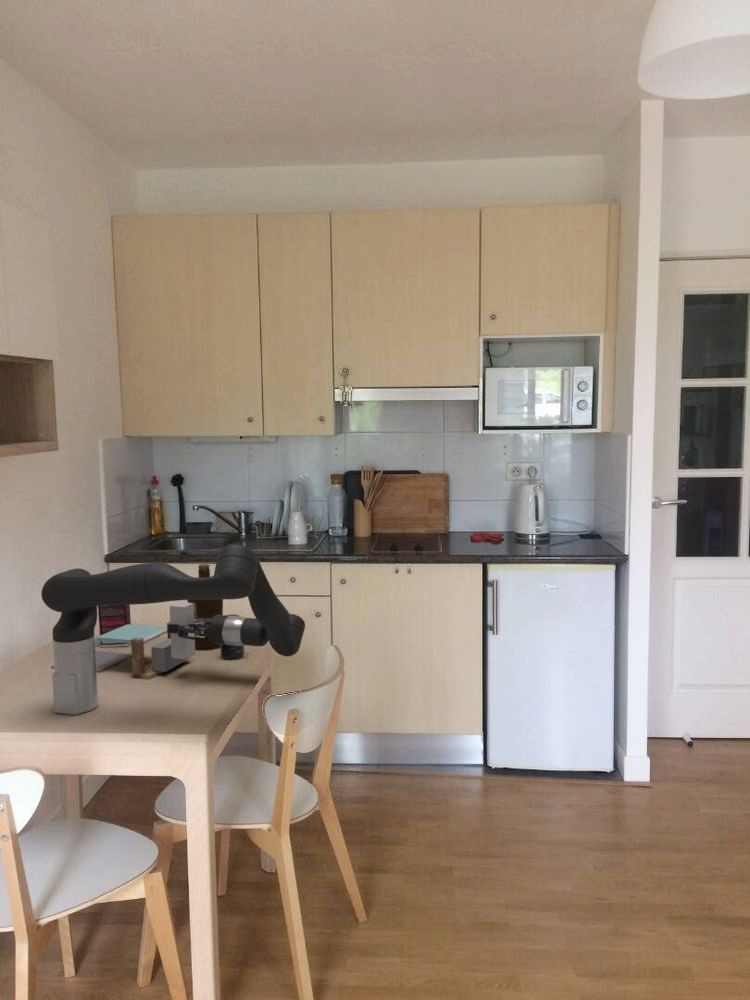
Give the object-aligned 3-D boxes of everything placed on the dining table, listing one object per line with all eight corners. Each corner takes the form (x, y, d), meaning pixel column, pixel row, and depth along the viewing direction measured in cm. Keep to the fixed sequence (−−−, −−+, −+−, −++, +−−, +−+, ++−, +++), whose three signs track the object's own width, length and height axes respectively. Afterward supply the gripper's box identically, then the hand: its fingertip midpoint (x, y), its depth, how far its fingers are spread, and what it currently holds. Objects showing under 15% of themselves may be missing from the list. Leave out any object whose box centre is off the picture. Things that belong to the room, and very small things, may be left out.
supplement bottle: (216, 656, 224) (214, 616, 222) (237, 651, 228) (235, 612, 227) (228, 661, 218) (226, 620, 217) (249, 656, 223) (247, 616, 222)
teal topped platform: (191, 657, 219) (190, 628, 218) (164, 672, 206) (162, 642, 205) (128, 651, 226) (127, 624, 225) (97, 666, 212) (96, 636, 211)
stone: (186, 659, 203) (184, 607, 202) (171, 657, 205) (169, 606, 203) (195, 654, 207) (193, 603, 206) (180, 653, 209) (178, 602, 207)
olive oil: (219, 639, 242) (216, 560, 239) (229, 647, 233) (226, 565, 230) (185, 644, 237) (181, 564, 234) (194, 653, 228) (190, 569, 225)
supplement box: (132, 642, 240) (129, 592, 239) (128, 646, 235) (125, 595, 234) (104, 643, 240) (101, 593, 238) (99, 647, 235) (96, 596, 233)
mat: (99, 672, 211) (99, 671, 211) (51, 667, 216) (51, 666, 216) (134, 655, 226) (134, 654, 226) (88, 651, 231) (88, 650, 231)
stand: (188, 658, 223) (186, 622, 222) (149, 679, 204) (148, 640, 203) (170, 656, 224) (168, 621, 223) (130, 677, 206) (128, 639, 205)
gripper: (242, 609, 207) (186, 606, 212) (216, 623, 194) (157, 618, 199) (243, 637, 208) (187, 632, 213) (217, 652, 195) (158, 647, 200)
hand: (173, 625), depth 206 cm, fingers closed on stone, 4 cm apart
